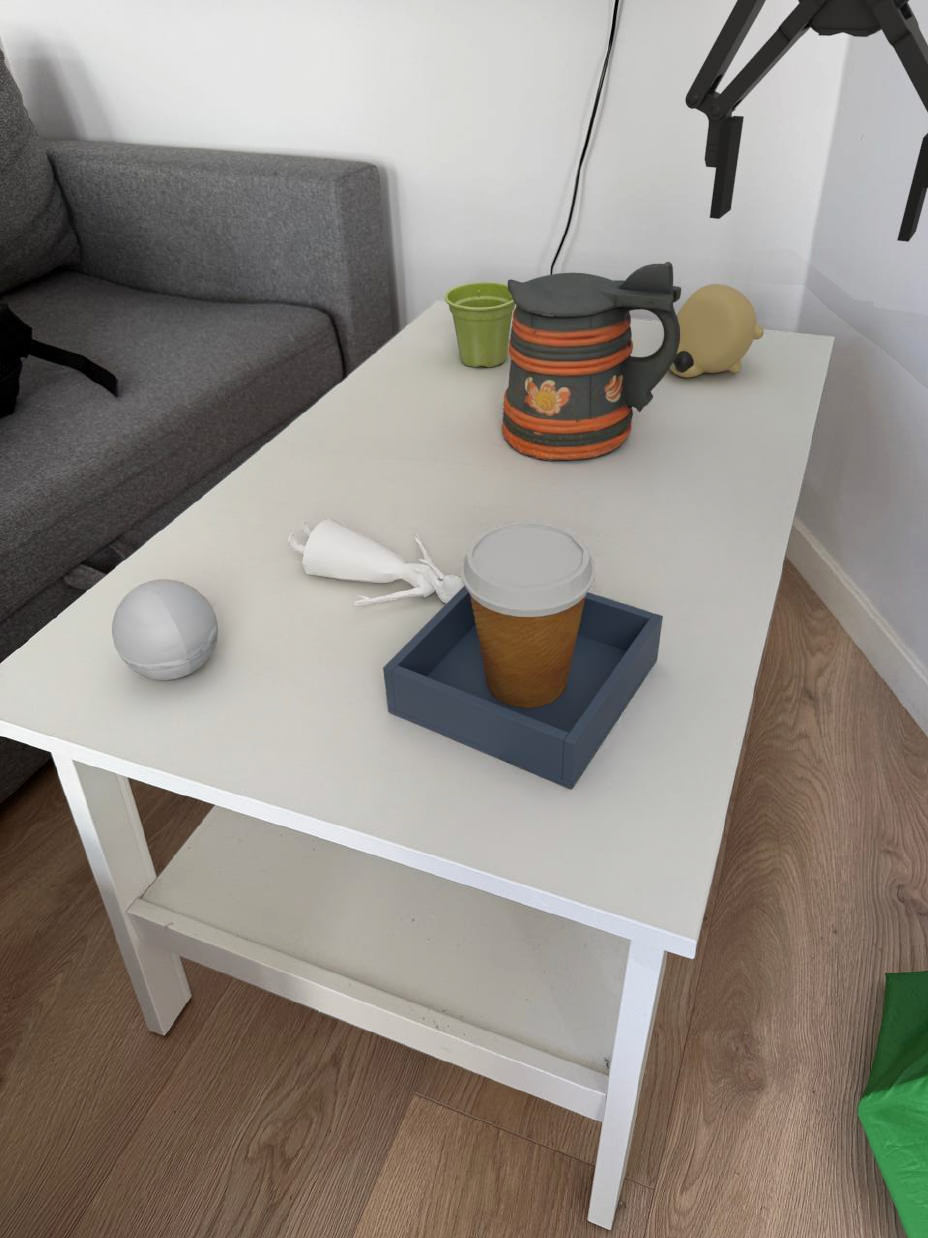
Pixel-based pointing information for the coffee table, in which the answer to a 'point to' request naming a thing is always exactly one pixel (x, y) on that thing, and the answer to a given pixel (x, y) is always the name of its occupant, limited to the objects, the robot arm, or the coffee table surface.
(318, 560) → the woman figurine
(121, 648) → the bath bomb
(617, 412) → the lidded tankard
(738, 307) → the toy pig
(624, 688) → the bin
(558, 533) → the disposable coffee cup
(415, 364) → the coffee table surface
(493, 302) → the plant pot
